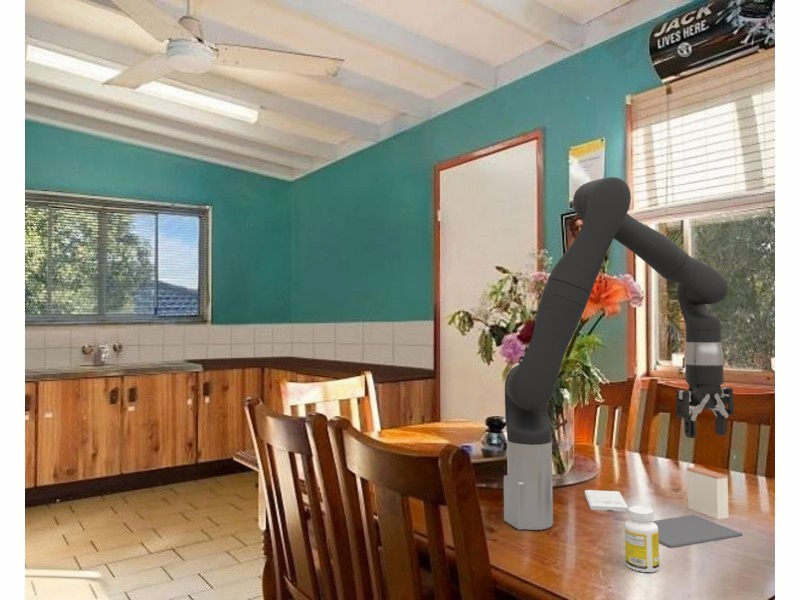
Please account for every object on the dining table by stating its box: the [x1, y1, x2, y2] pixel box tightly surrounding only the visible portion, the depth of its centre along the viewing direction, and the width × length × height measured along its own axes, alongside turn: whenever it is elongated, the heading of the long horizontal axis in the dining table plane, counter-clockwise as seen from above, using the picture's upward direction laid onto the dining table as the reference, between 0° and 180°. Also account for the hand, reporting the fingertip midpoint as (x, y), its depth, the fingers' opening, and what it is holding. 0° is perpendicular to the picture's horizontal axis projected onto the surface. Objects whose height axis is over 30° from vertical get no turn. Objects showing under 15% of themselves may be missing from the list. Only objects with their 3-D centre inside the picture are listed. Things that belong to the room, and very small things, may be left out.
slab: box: [686, 466, 729, 520], centre depth 132 cm, size 3×8×9 cm, turn 20°
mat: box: [652, 514, 744, 549], centre depth 120 cm, size 18×12×1 cm, turn 110°
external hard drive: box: [584, 489, 630, 513], centre depth 139 cm, size 2×8×12 cm
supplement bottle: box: [624, 506, 660, 573], centre depth 103 cm, size 5×5×10 cm
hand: (706, 436), depth 132 cm, fingers open, 8 cm apart
